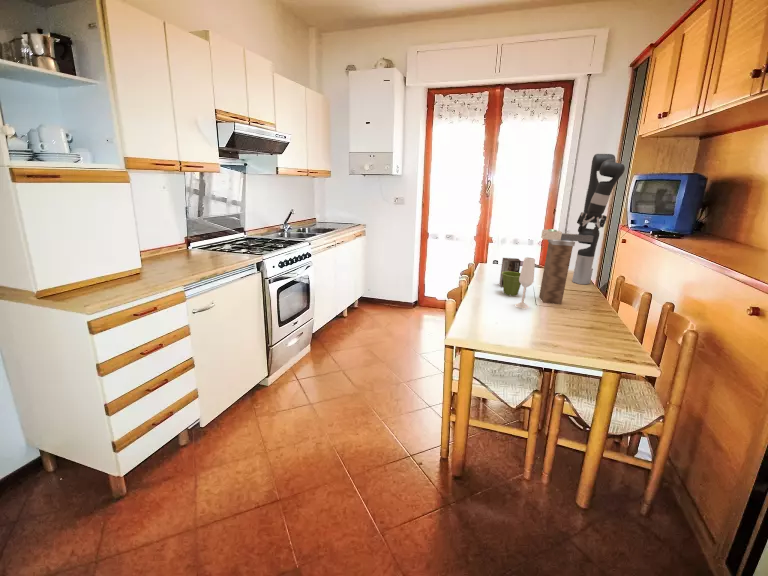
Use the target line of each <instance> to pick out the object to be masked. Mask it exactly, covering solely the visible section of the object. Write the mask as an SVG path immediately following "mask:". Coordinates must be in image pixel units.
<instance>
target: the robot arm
mask: <svg viewBox="0 0 768 576" xmlns="http://www.w3.org/2000/svg"><path fill="white" fill-rule="evenodd" d="M625 168H626V166H625V165H624V164H623V163H620V162H617V161H616V156H615V154H612V153H596V154H594V155H593V157H592V161H591V167H590V174H589V182H588V187H587V192H586V196H585V201H584V208H583V211H582V212H580V214H579V217H578V219H577V220H576V223H577V224H578V225H579V226H578V229H577V232H578V234H580V235H592V236H594V237H593V242H581V241H577V243H578V244H583V245H584V244H585V245H590V246H588V247H586V248H580V249H578V250H577V253H576V259H575V263H574V264H575V266H574V269H573V274H572V279H571V281H572V283H575V284H578V285H579V284H580V285H589V284H590V283H591V280H592V277H593V276H592V275H593V270H594V269H593V264H594V259H595V255H596V251H597V250H596V248H597V246H598V242H599V239H600V230H599V229H600V228H604V227H605V223H606V221H607V219H608V216H607V215H605V214H604V212H605V210H606V208H607V205H608V203H609V200H610V196H611V194H612V191H613V189H614V187H615V185H616V183H618V180H620V178H621V177H622V176H623V174H624V172H625ZM598 172H599V173H598ZM598 174H599V175H600V176H602V177H607V178H611V179H610V180H606V181H605V180H604V181H599V178H598ZM589 223H592V224H594V227H593V228H587V226H588V225H589Z"/></svg>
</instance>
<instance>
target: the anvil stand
mask: <svg viewBox="0 0 768 576" xmlns="http://www.w3.org/2000/svg"><path fill="white" fill-rule="evenodd" d="M547 242H548V244H547V251H546V255H545V261H544V266H543V274H542V277H541V278H542V279H541V284H540V289H539V290H540V291H539V295H538V298H539V299H540V301H541V300H542V301H541V302H542V303H543V304H544V303H545V304H553V303H554V304H555V305H562V303H563V298H564V293H565V288H566V284H567V278H568V275H569V274H568V273H569V268H570V263H571V258H572V253H573V247H575V245H576V241H566V240H548V239H547Z"/></svg>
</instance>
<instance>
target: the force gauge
mask: <svg viewBox="0 0 768 576" xmlns="http://www.w3.org/2000/svg"><path fill="white" fill-rule="evenodd" d="M593 237H594V236H592V235H580V234H579V233H564V232H562V231H560V230H557V229H554V228H548V229H542V231H541V236H540V238H542V239H543V240H547V241H548V240H566V241H574V242H578V241H581V242H593Z"/></svg>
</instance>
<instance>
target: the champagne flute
mask: <svg viewBox="0 0 768 576" xmlns="http://www.w3.org/2000/svg"><path fill="white" fill-rule="evenodd" d="M535 265H536V258H533V257H528V256H527V257H524V259H523V262H522V267H521V270H520V273H521V274H520V277H519V282H520V284H521V285H520V286H521V287H523V291H522V296H521V301H520V302H518V303H515V304H514V306H515V305H516V306H517V307H516V306H515V307H516V308H519V307H520V308H519V309H529V308H530V306H529V305H528V304H526V302H525V298H526V292H527V288H529V287H530V286H532V284H534V279H535Z"/></svg>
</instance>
